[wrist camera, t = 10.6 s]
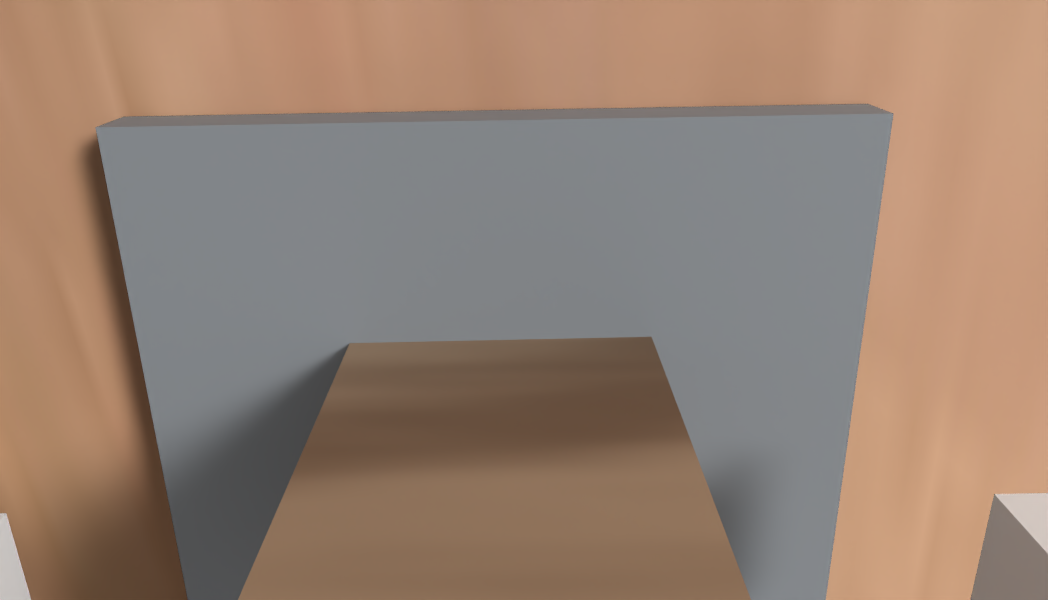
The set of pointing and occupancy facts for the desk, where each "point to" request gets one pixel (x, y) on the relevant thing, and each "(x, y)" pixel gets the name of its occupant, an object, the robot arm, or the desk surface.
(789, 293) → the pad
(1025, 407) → the desk surface
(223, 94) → the desk surface
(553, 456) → the block
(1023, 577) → the robot arm
